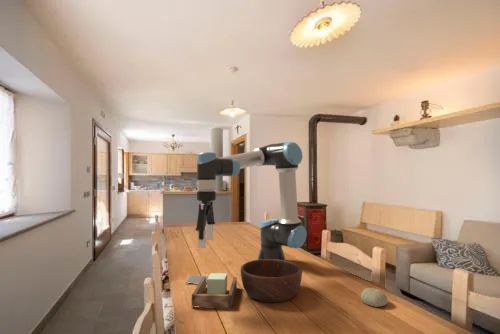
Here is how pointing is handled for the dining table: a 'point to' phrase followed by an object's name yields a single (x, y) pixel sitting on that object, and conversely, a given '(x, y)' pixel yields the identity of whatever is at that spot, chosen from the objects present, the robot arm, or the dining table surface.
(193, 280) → the slate mat
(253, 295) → the wooden bowl
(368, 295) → the sea urchin shell
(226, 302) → the walnut cubby
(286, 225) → the robot arm
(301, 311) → the dining table surface
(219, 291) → the sage block
